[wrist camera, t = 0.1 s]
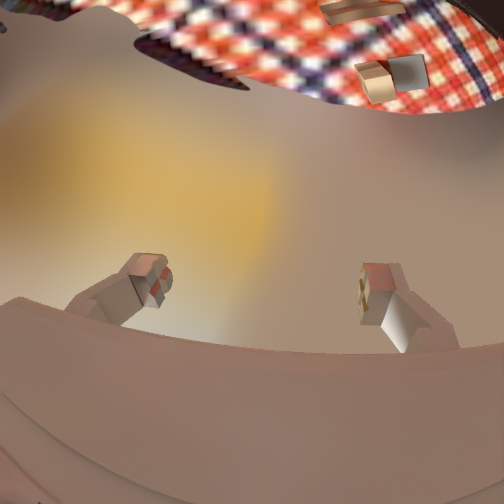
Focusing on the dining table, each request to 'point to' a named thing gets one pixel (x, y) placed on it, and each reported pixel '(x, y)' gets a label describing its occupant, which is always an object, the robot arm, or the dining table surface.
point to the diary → (484, 14)
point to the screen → (358, 10)
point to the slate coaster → (408, 72)
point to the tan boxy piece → (375, 82)
